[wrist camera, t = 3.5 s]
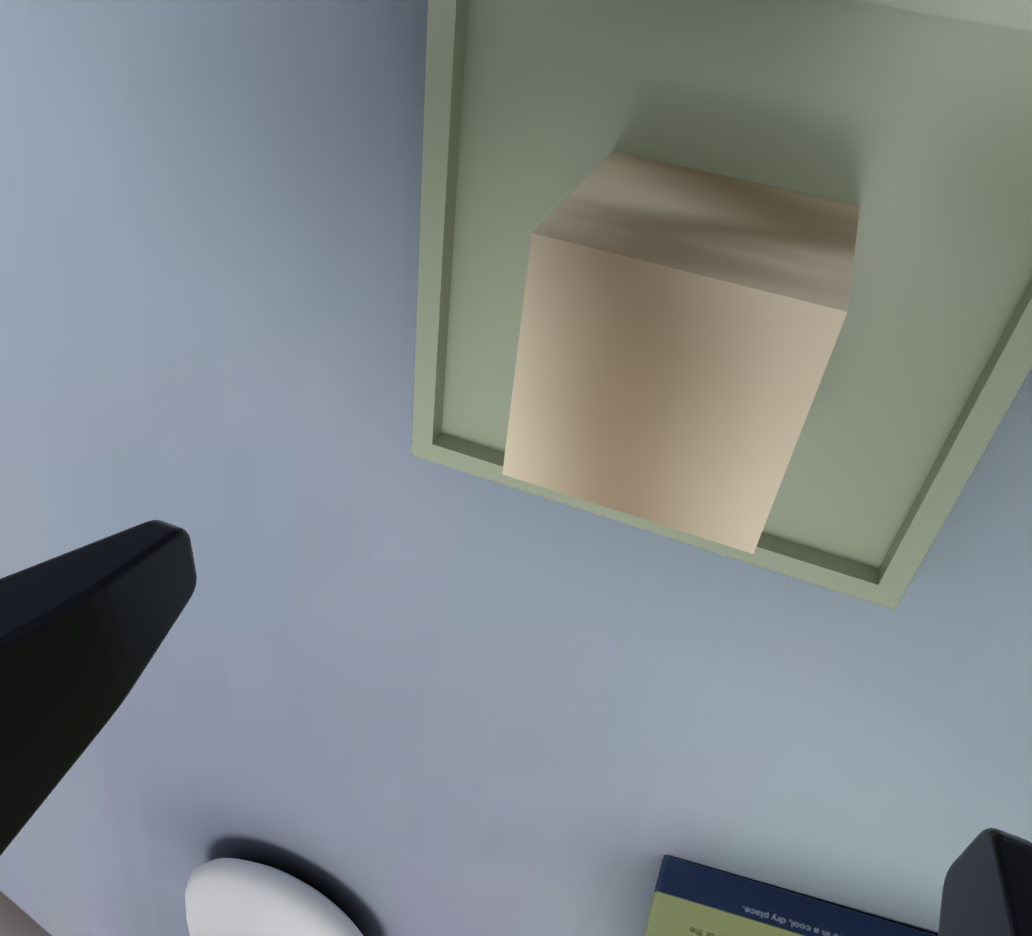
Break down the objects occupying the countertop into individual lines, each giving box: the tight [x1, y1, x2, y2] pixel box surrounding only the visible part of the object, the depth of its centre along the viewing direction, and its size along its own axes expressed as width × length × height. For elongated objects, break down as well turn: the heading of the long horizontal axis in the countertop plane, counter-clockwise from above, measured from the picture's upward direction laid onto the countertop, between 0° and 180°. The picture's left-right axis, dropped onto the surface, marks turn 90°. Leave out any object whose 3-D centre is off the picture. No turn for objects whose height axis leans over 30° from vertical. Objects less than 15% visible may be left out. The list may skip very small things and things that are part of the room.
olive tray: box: [412, 0, 1032, 610], centre depth 18 cm, size 13×13×1 cm
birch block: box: [502, 151, 860, 554], centre depth 16 cm, size 5×5×5 cm
